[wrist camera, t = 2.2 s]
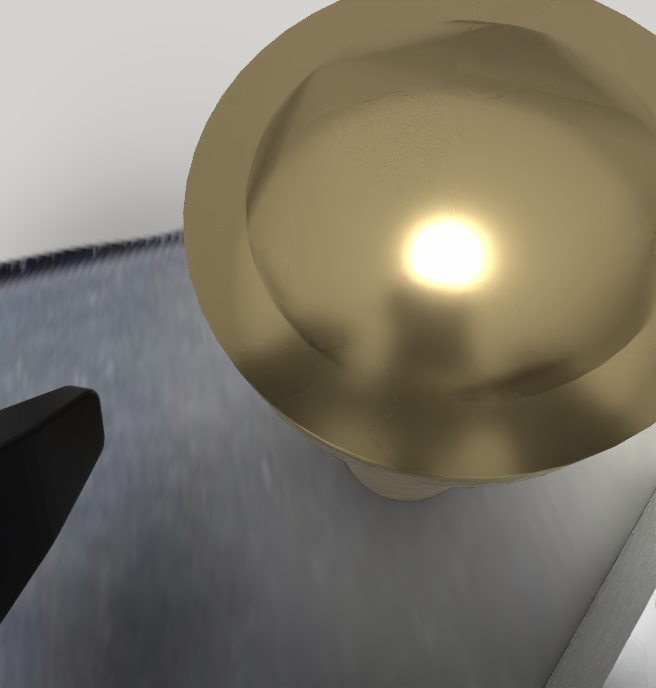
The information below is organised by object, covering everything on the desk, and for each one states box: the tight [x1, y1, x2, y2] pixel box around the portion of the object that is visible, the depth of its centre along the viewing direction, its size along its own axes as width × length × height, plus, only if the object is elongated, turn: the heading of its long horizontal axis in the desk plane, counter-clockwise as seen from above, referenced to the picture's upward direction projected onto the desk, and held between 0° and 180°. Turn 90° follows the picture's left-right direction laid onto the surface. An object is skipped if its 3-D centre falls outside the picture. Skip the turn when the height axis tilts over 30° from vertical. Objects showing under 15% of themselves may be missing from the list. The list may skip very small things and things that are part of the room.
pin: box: [183, 0, 656, 501], centre depth 12 cm, size 5×5×13 cm
